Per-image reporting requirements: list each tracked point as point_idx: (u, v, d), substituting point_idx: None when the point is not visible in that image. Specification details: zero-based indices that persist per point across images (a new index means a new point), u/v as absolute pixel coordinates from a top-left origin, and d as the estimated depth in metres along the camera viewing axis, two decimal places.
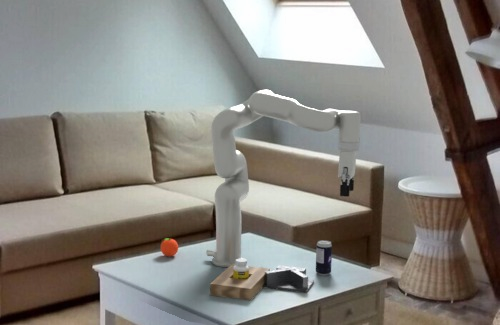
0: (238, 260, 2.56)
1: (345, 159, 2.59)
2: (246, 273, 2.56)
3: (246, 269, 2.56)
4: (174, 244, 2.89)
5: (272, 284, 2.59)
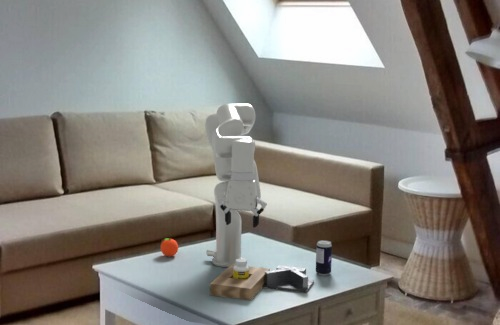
0: (238, 260, 2.56)
1: (255, 189, 2.51)
2: (246, 273, 2.56)
3: (246, 269, 2.56)
4: (174, 244, 2.89)
5: (272, 284, 2.59)
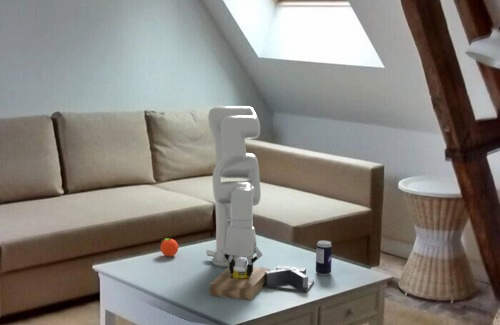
0: (238, 260, 2.56)
1: (254, 235, 2.54)
2: (246, 273, 2.56)
3: (246, 269, 2.56)
4: (174, 244, 2.89)
5: (272, 284, 2.59)
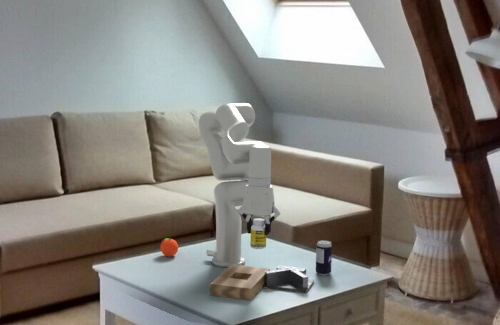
0: (256, 219, 2.54)
1: (272, 194, 2.51)
2: (264, 232, 2.53)
3: (264, 228, 2.53)
4: (174, 244, 2.89)
5: (272, 284, 2.59)
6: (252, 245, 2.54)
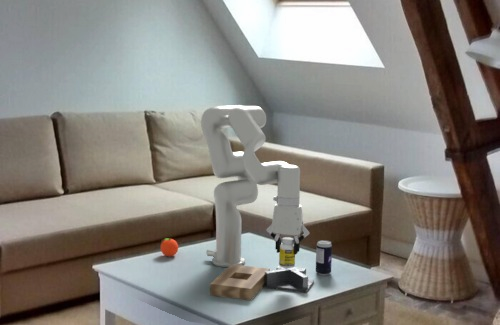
0: (285, 239, 2.55)
1: (301, 214, 2.52)
2: (293, 252, 2.54)
3: (293, 248, 2.54)
4: (174, 244, 2.89)
5: (272, 284, 2.59)
6: (281, 264, 2.55)
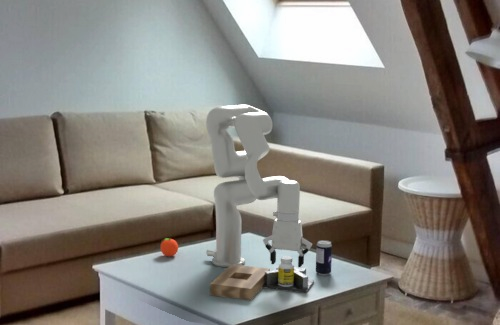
0: (283, 258, 2.56)
1: (301, 229, 2.53)
2: (292, 271, 2.56)
3: (292, 267, 2.56)
4: (174, 244, 2.89)
5: (272, 284, 2.59)
6: (280, 283, 2.57)
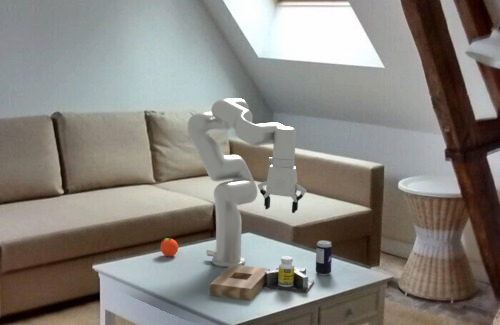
0: (284, 258, 2.56)
1: (296, 175, 2.55)
2: (292, 271, 2.56)
3: (292, 267, 2.56)
4: (174, 244, 2.89)
5: (272, 284, 2.59)
6: (280, 283, 2.57)
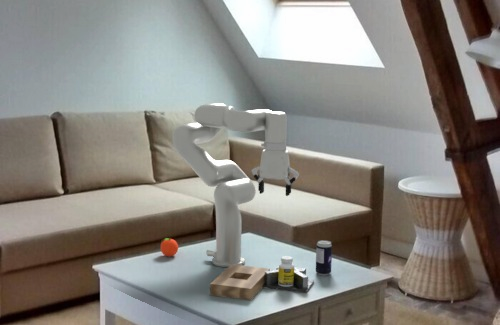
0: (284, 258, 2.56)
1: (288, 159, 2.62)
2: (292, 271, 2.56)
3: (292, 267, 2.56)
4: (174, 244, 2.89)
5: (272, 284, 2.59)
6: (280, 283, 2.57)
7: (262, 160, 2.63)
